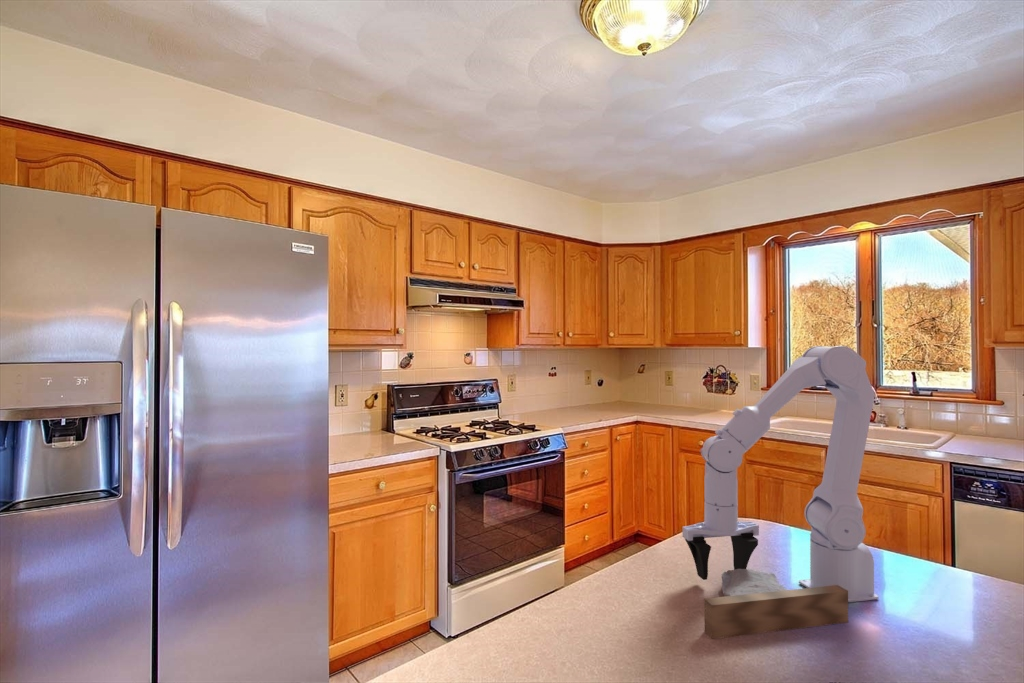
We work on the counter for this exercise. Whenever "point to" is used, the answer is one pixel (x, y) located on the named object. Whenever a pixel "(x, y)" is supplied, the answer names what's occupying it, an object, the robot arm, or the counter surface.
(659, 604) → the counter surface
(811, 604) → the walnut wall
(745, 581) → the stone block
